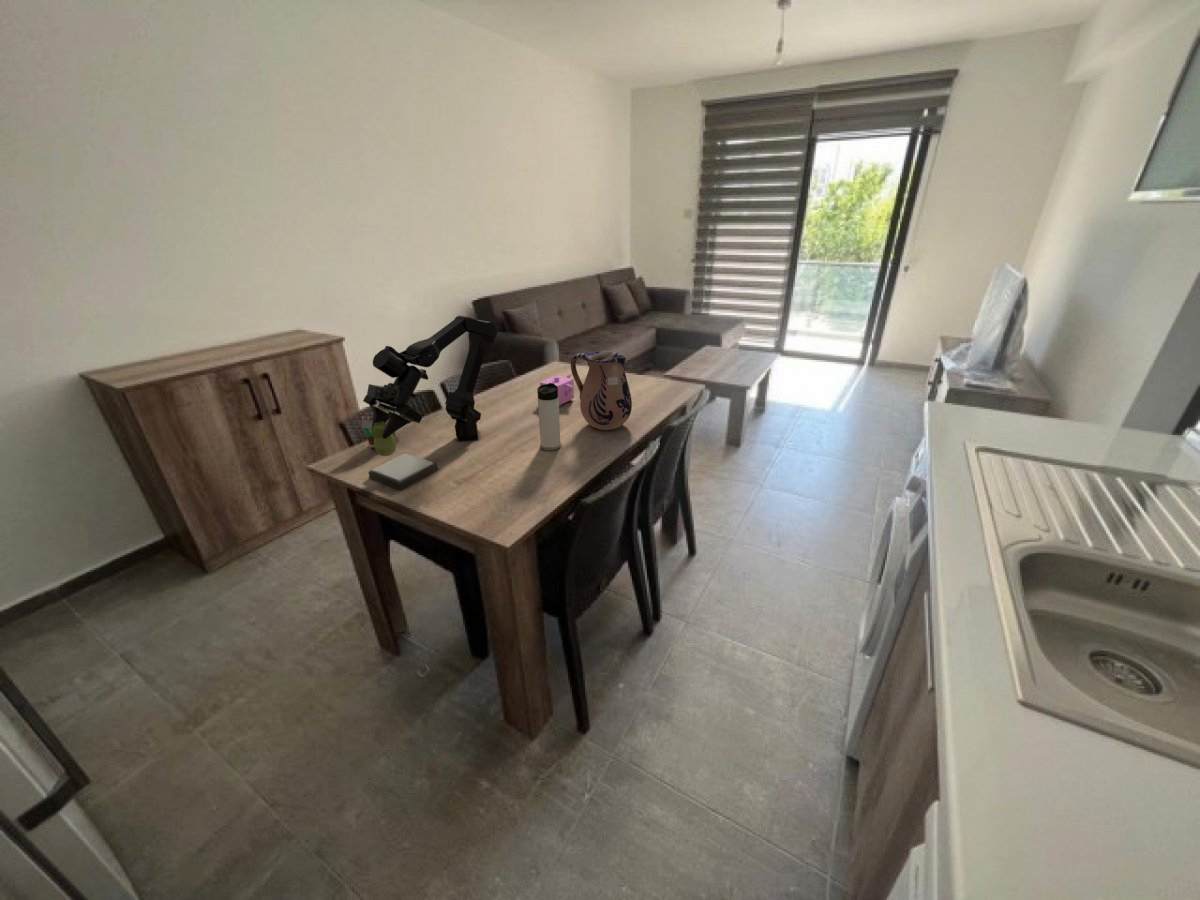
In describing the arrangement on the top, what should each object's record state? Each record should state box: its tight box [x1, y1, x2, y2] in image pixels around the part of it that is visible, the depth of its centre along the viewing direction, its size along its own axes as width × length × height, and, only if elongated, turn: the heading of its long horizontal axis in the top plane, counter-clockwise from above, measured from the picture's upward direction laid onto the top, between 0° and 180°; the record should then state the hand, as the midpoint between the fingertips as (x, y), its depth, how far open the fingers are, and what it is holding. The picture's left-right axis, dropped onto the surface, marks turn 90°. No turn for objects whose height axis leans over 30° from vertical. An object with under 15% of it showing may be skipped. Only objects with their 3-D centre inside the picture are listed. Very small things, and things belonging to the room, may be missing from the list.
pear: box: [371, 421, 397, 457], centre depth 132 cm, size 6×5×10 cm
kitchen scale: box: [367, 453, 439, 491], centre depth 136 cm, size 13×13×3 cm
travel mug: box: [536, 383, 562, 452], centre depth 147 cm, size 6×7×20 cm
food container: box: [361, 410, 397, 450], centre depth 152 cm, size 12×6×10 cm, turn 168°
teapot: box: [539, 373, 575, 407], centre depth 185 cm, size 18×14×10 cm
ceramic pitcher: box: [570, 350, 633, 431], centre depth 161 cm, size 18×21×25 cm
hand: (378, 435), depth 130 cm, fingers closed on pear, 4 cm apart
